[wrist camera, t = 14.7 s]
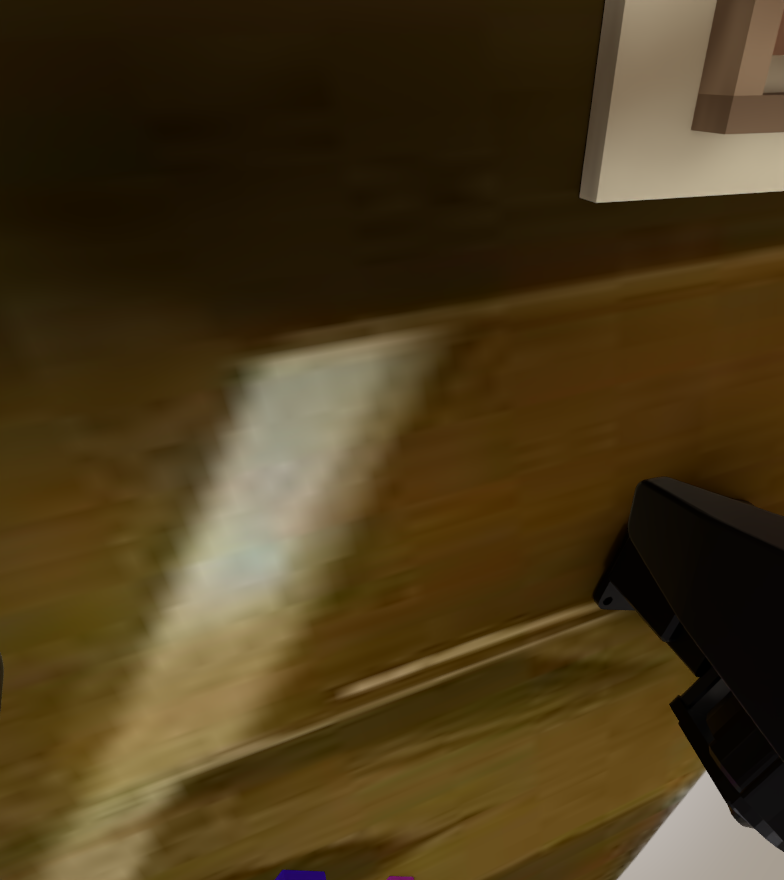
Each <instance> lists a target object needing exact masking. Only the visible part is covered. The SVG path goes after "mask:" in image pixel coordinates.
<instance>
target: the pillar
mask: <svg viewBox="0 0 784 880" xmlns="http://www.w3.org/2000/svg"><path fill="white" fill-rule="evenodd" d="M772 55H784V10H783V14H782V18H781V22H780V26H779V30H778V34H777V38H776V42H775V46H774V50H773V54H772Z"/></svg>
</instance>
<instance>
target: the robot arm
mask: <svg viewBox="0 0 784 880" xmlns="http://www.w3.org/2000/svg"><path fill="white" fill-rule="evenodd" d="M594 601H595V602H596V604H597V605H598V606H599V607H600V608H601V609H611V610H636V612H637V613H638V614H639V615H640V616H641V617H642V619H643V620H644V621H645V622H646V623H647V624H648V625H649V627H650V628H651V629H652V630H653V631H654V632H655V633H656V635H657V636H658V637H659V638H660V639H661V640H662V641H663V642H666V643H667V644H668V645H669V646H670V647H671V649H672V650H673V651H674V652H675V653H676V654H677V655H678V657H679V658H680V659H681V660H682V661H683V662H684V663H685V665H686V666H687V667H688V668H689V669H690V670H691V671H692V673H693V674H694V675H695V676H696V677H700V678H699V679H698V680H697V681H696V682H695V683H694V684H693V685H692V686H691V687H690V688H689V689H688V690H687V691H686V692H685V693H684V694H682V695H681V696H679V695H678V696H677V697H676V698H675V699H674V700H673V701H672V702H671V703H670V704H669V705H670V707H671V709H672V710H673V712H674V714H675V715H676V717H677V719H678V720H679V722H678V724H679V726H680V727H681V729H682V731H683V732H684V734H685V736H686V737H687V739H688V741H689V742H690V744H691V745H692V747H693V749H694V750H695V752H696V754H697V755H698V757H699V759H700V760H701V762H702V764H703V765H704V767H705V769H706V770H707V772H708V774H709V775H710V777H711V778H712V780H713V782H714V783H715V785H716V787H717V788H718V790H719V792H720V793H721V795H722V797H723V798H724V800H725V801H726V803H727V805H728V807H729V809H730V812H731V814H732V815H733V817H734V818H735V819H736V821H738V823H740V824H741V825H742V826H745V827H749V828H754V829H756V830H757V831H758V832H759V833H760V834H761V835H762V836H763V837H764V838H765V839H767V840H768V841H769V842H770V843H772V844H773V845H774V846H775V847H777V848H779V849H780V850H782V851H783V852H784V517H783V516H780V515H777V514H774V513H772V512H769V511H766V510H763V509H760V508H757V507H755V506H754V505H752V504H751V503H750V502H748V501H741V500H734V499H731V498H728V497H725V496H722V495H719V494H716V493H713V492H710V491H707V490H704V489H701V488H698V487H696V486H693V485H690V484H687V483H684V482H681V481H678V480H675V479H672V478H669V477H657V478H651V479H646V480H643V481H641V482H639V484H638V485H637V486H636V489H635V493H634V498H633V502H632V507H631V511H630V516H629V521H628V534H627V536H626V538H625V540H624V541H623V543H622V545H621V547H620V549H619V551H618V553H617V555H616V556H615V558H614V560H613V562H612V564H611V566H610V568H609V570H608V571H607V573H606V575H605V577H604V579H603V581H602V583H601V585H600V586H599V588H598V590H597V592H596V594H595V596H594ZM3 677H4V667H3V660H2V656H1V653H0V710H1V699H2V688H3Z"/></svg>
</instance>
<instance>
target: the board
mask: <svg viewBox="0 0 784 880" xmlns="http://www.w3.org/2000/svg"><path fill="white" fill-rule="evenodd" d="M783 10H784V0H605V7H604V15H603V22H602V30H601V37H600V45H599V53H598V60H597V68H596V75H595V83H594V90H593V98H592V105H591V113H590V121H589V128H588V136H587V143H586V151H585V158H584V166H583V174H582V181H581V189H580V196H579V198H582V199H585V200H588V201H592V202H595V203H603V202H619V201H634V200H650V199H666V198H681V197H697V196H713V195H728V194H744V193H760V192H775V191H784V55H772V54H773V50H774V46H775V42H776V38H777V34H778V30H779V26H780V22H781V18H782V14H783Z"/></svg>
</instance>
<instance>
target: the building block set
mask: <svg viewBox="0 0 784 880" xmlns="http://www.w3.org/2000/svg"><path fill="white" fill-rule="evenodd" d="M275 880H326V877H325V872H319V871H296V870H282V871H281V873H280V874H279V875H278V877H277V878H276V879H275ZM387 880H414V879H413V877H399V876H389V878H388V879H387Z"/></svg>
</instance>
